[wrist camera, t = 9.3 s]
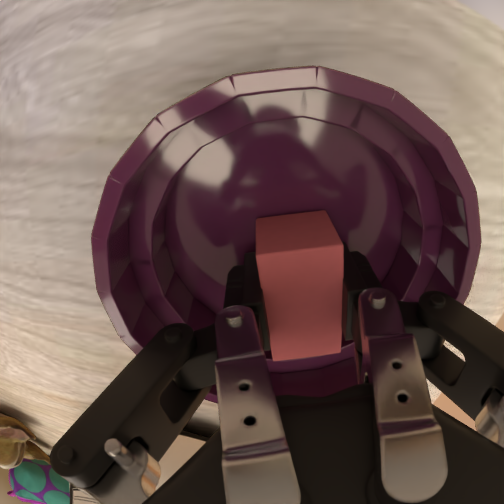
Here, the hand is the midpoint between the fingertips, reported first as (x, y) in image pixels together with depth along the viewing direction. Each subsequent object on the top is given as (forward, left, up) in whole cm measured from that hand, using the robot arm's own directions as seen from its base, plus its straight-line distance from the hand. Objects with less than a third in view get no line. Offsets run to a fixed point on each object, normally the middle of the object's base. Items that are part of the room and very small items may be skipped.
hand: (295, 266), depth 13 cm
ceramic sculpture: (+19, -36, -1) cm, 41 cm away
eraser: (0, 0, 0) cm, 0 cm away
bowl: (-1, 0, -1) cm, 1 cm away
